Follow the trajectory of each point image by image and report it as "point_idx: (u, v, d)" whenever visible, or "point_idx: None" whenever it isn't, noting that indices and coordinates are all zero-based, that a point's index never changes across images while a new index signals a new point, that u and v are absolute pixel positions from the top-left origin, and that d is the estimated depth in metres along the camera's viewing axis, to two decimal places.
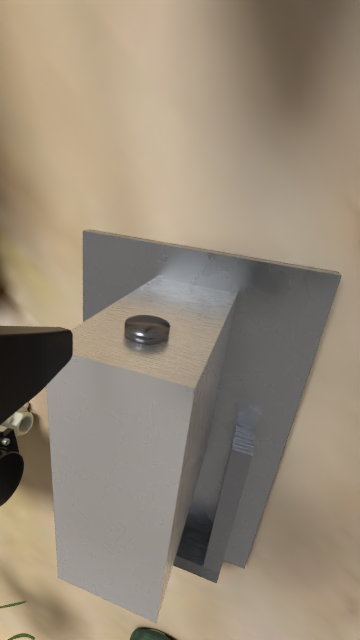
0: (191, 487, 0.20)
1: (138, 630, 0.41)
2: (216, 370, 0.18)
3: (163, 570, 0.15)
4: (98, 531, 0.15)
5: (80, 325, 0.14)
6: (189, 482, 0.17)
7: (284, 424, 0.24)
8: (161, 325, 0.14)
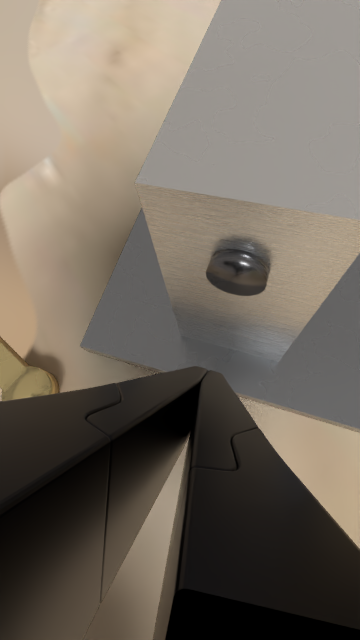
0: None
1: None
2: None
3: None
4: None
5: (338, 275, 0.09)
6: None
7: None
8: (217, 278, 0.10)
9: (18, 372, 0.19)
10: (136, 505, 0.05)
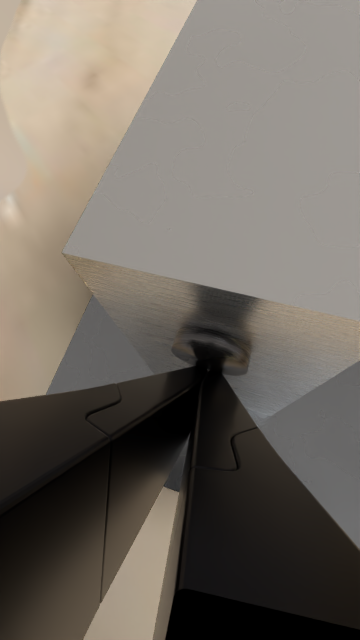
0: None
1: None
2: None
3: None
4: None
5: (341, 367, 0.07)
6: None
7: None
8: (186, 357, 0.08)
9: None
10: (136, 505, 0.05)
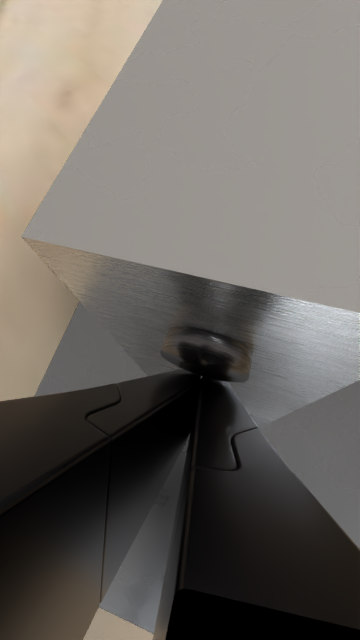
0: None
1: None
2: None
3: None
4: None
5: None
6: None
7: (82, 313, 0.18)
8: (178, 361, 0.07)
9: None
10: (136, 505, 0.05)
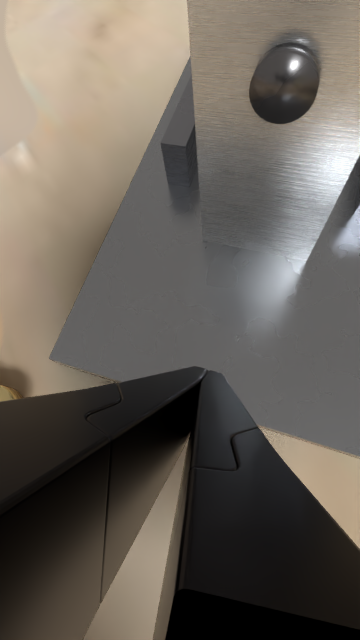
0: None
1: None
2: None
3: None
4: None
5: None
6: None
7: (134, 192, 0.20)
8: (261, 95, 0.10)
9: None
10: (136, 505, 0.05)
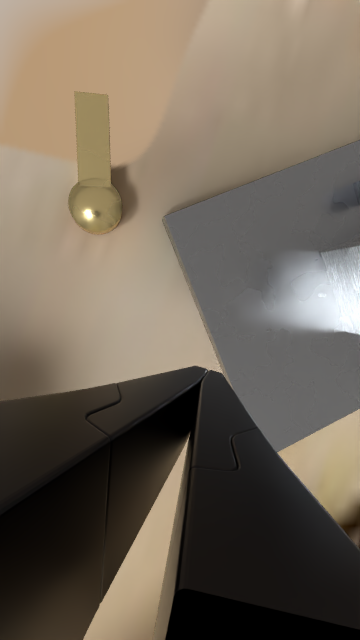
0: None
1: None
2: None
3: None
4: None
5: None
6: None
7: (329, 160, 0.21)
8: None
9: (102, 182, 0.18)
10: (136, 505, 0.05)
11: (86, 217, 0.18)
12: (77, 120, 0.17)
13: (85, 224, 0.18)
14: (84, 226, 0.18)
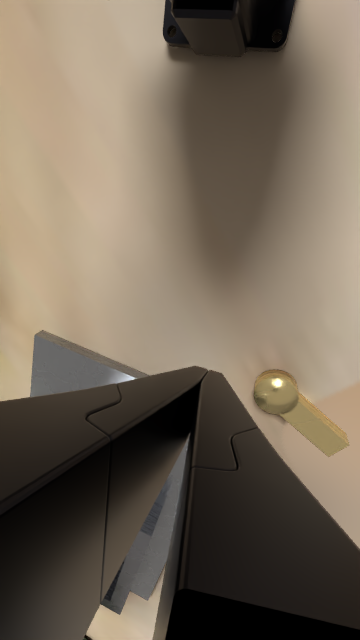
0: None
1: None
2: None
3: None
4: None
5: None
6: None
7: None
8: None
9: (284, 411, 0.22)
10: (136, 505, 0.05)
11: (273, 385, 0.22)
12: (332, 432, 0.22)
13: (270, 381, 0.22)
14: (269, 379, 0.22)
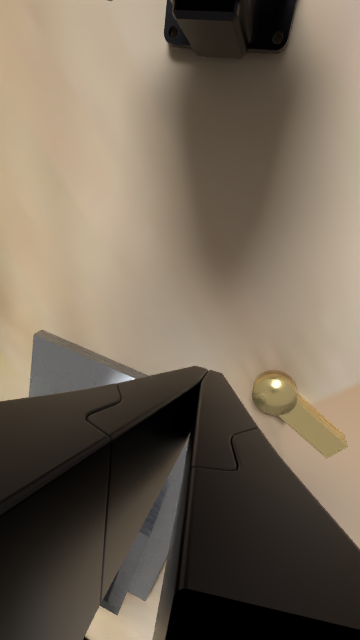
0: None
1: None
2: None
3: None
4: None
5: None
6: None
7: None
8: None
9: (283, 412, 0.22)
10: (136, 505, 0.05)
11: (272, 386, 0.22)
12: (330, 433, 0.22)
13: (268, 382, 0.22)
14: (268, 380, 0.22)
